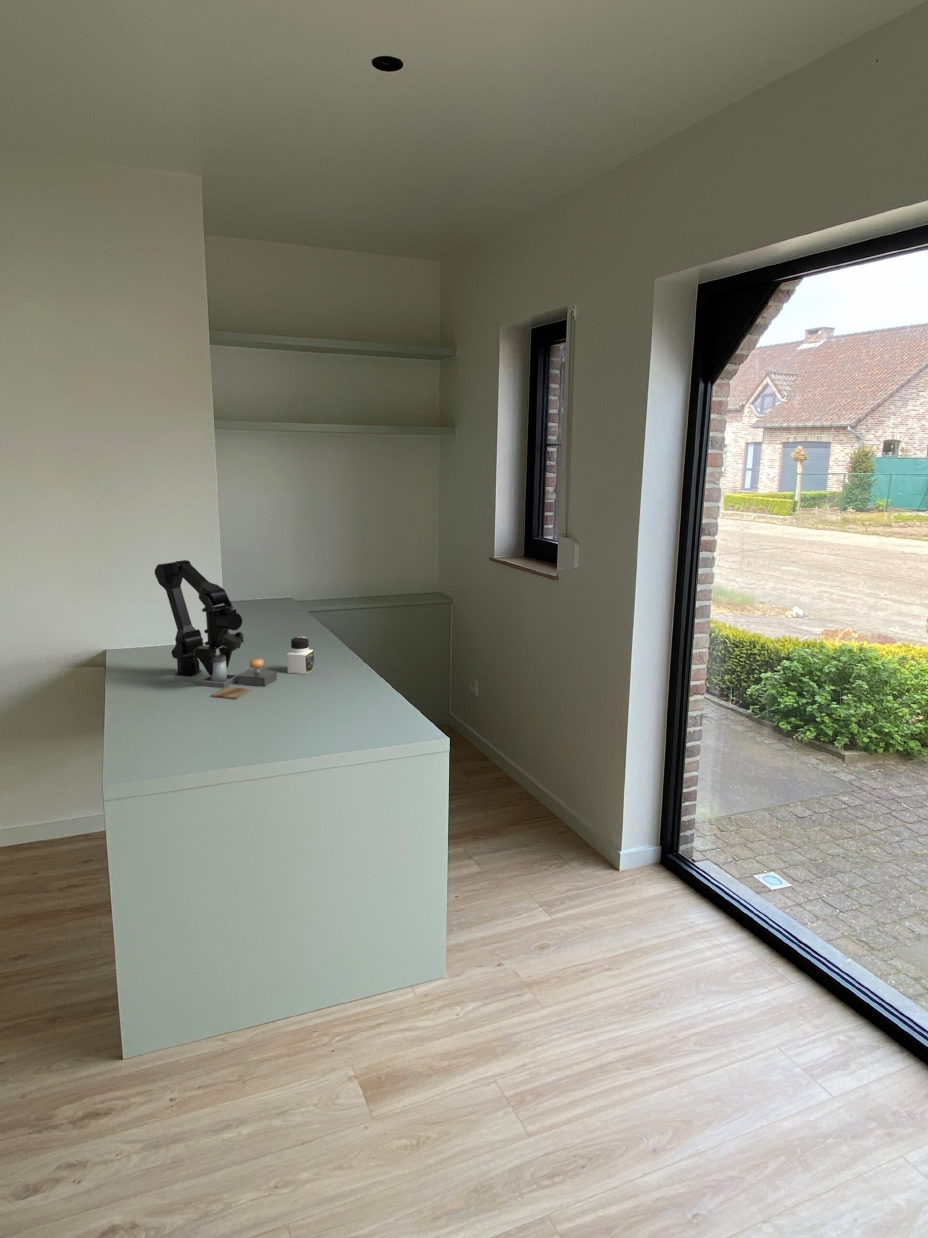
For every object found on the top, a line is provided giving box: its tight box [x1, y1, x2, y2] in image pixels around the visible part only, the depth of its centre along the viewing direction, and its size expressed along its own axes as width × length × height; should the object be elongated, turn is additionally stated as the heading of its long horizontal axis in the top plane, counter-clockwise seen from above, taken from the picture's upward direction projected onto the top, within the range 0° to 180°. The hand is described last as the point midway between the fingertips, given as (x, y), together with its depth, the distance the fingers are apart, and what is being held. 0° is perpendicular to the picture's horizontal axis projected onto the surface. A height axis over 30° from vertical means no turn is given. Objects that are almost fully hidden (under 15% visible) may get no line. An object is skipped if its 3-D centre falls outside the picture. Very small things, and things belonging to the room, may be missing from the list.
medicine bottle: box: [286, 636, 315, 675], centre depth 280 cm, size 7×7×12 cm
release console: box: [237, 668, 278, 687], centre depth 268 cm, size 10×8×3 cm
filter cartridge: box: [211, 653, 228, 682], centre depth 267 cm, size 5×5×9 cm
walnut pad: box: [210, 686, 252, 700], centre depth 256 cm, size 9×9×1 cm
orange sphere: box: [249, 658, 265, 674], centre depth 267 cm, size 4×4×4 cm
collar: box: [197, 673, 239, 689], centre depth 268 cm, size 10×10×2 cm
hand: (218, 671), depth 267 cm, fingers open, 9 cm apart
